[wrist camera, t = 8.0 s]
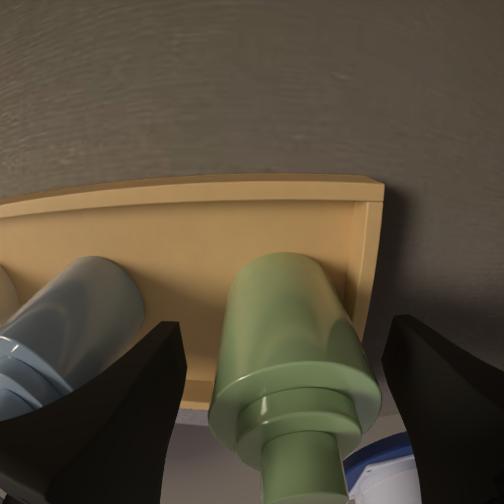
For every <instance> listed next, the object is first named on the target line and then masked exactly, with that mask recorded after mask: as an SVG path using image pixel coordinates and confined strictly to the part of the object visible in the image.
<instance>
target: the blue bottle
mask: <svg viewBox="0 0 504 504" xmlns="http://www.w3.org/2000/svg"><path fill="white" fill-rule="evenodd" d="M144 319H145V306H144V301H143V297H142V295H141V292H140V290H139V288H138V286H137V285H136V283H135V282H134V280H133V279H132V278H131V277H130V276H129V275H128V274H127V273H126V272H125V271H124V270H123V269H122V268H121V267H119V266H118V265H116V264H115V263H113V262H111V261H109V260H107V259H104V258H101V257H97V256H84V257H80V258H78V259H75V260H74V261H73V262H71V263H70V264H69V265H67V266H66V267H65V268H64V269H63V270H61V271H60V272H59V273H58V274H57V275H56V276H54V277H53V278H52V279H51V280H50V281H49V282H47V283H46V284H45V285H44V286H43V287H42V288H41V289H39V290H38V291H37V292H36V293H35V294H34V295H33V296H32V297H30V298H29V299H28V300H27V301H26V302H25V303H24V304H23V305H22V306H21V307H20V308H19V309H17V310H16V311H15V312H14V313H13V314H12V315H11V316H10V317H9V318H8V319H7V320H6V321H5V322H4V323H3V324H2V325H1V326H0V421H3V420H7V419H11V418H14V417H17V416H20V415H23V414H26V413H29V412H31V411H34V410H36V409H39V408H41V407H43V406H46V405H48V404H50V403H52V402H54V401H56V400H58V399H60V398H61V397H63V396H65V395H67V394H69V393H71V392H73V391H74V390H76V389H78V388H79V387H81V386H83V385H84V384H86V383H87V382H89V381H90V380H92V379H93V378H95V377H96V376H97V375H99V374H100V373H102V372H103V371H104V370H105V369H107V368H108V367H109V366H110V365H112V364H113V363H114V362H115V361H117V360H118V359H119V358H120V357H122V356H123V355H124V354H125V353H126V352H127V351H129V350H130V348H131V346H132V344H133V342H134V340H135V339H136V337H137V335H138V333H139V331H140V329H141V327H142V325H143V323H144Z"/></svg>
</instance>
